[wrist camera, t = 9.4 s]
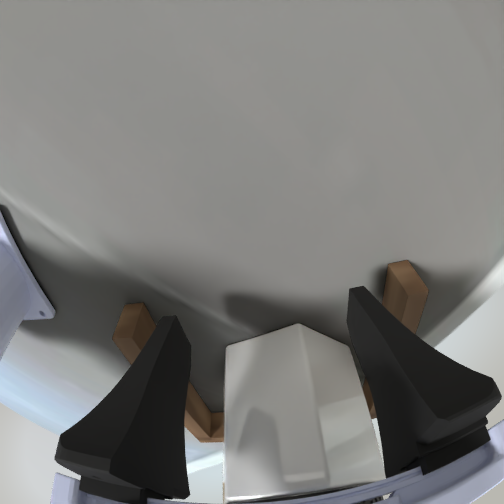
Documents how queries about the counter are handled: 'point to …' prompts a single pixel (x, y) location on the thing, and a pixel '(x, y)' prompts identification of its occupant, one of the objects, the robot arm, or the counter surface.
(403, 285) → the bay
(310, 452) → the jar
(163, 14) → the counter surface
